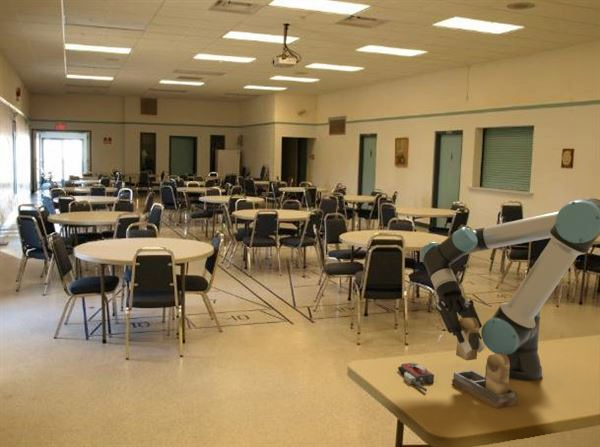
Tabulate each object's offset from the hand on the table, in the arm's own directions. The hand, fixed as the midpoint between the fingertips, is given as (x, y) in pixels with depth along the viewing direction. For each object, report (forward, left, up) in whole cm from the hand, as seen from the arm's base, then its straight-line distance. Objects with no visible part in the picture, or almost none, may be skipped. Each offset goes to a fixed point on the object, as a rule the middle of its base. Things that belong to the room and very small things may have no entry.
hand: (475, 351), depth 185 cm
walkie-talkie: (+11, -13, -13) cm, 21 cm away
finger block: (0, -4, -3) cm, 5 cm away
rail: (-1, +3, -12) cm, 13 cm away
